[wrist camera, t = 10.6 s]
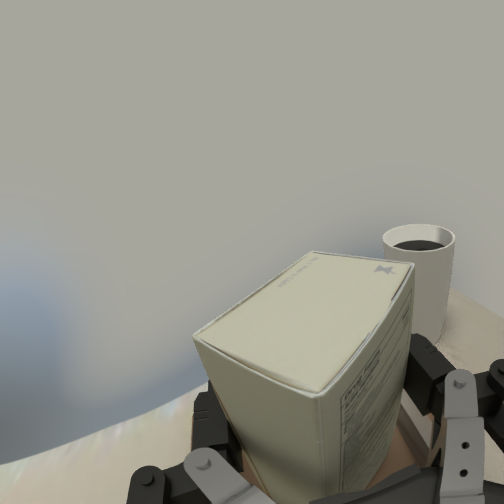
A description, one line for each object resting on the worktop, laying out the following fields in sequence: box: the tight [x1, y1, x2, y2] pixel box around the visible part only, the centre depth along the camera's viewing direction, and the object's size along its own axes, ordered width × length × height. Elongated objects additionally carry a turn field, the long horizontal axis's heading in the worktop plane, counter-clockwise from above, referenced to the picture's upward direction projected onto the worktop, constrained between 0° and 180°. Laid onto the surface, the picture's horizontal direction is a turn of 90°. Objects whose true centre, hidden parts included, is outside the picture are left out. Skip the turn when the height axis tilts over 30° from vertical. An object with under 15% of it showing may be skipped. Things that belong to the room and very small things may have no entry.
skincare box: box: [192, 251, 415, 504], centre depth 10 cm, size 6×4×12 cm
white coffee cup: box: [383, 224, 455, 345], centre depth 24 cm, size 7×7×10 cm
